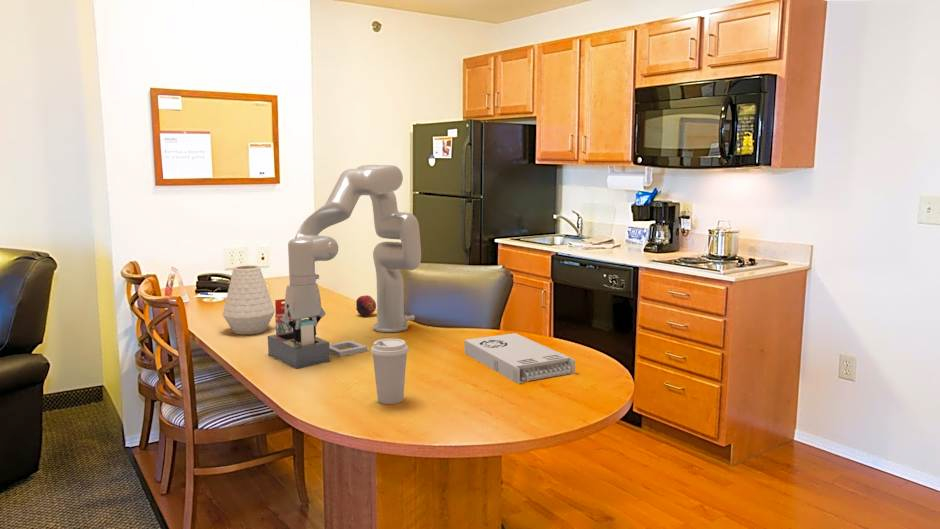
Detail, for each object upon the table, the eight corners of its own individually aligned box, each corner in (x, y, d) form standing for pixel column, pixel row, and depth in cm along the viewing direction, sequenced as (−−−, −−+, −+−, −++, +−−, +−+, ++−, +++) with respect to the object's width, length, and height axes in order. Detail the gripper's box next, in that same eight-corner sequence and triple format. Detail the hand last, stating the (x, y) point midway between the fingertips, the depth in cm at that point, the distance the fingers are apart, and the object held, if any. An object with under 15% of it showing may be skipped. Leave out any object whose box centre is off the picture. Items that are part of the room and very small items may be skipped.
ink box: (302, 341, 222) (301, 299, 220) (279, 345, 218) (277, 301, 216) (299, 339, 225) (297, 297, 223) (276, 342, 221) (274, 299, 219)
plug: (308, 347, 203) (307, 318, 202) (314, 350, 200) (313, 321, 199) (296, 349, 200) (294, 320, 199) (302, 352, 197) (301, 323, 196)
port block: (300, 348, 215) (300, 329, 214) (329, 361, 200) (329, 341, 200) (268, 354, 208) (267, 335, 207) (296, 368, 193) (295, 347, 192)
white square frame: (350, 344, 219) (350, 340, 219) (367, 351, 211) (367, 346, 211) (323, 350, 212) (323, 345, 212) (339, 357, 205) (339, 352, 205)
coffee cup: (372, 393, 173) (371, 338, 170) (409, 392, 174) (408, 337, 171) (370, 407, 163) (369, 348, 161) (409, 406, 164) (408, 347, 162)
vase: (213, 334, 231) (209, 269, 228) (247, 323, 247) (243, 262, 244) (253, 339, 225) (249, 272, 221) (285, 327, 241) (282, 265, 237)
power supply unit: (518, 386, 181) (518, 368, 180) (464, 355, 210) (464, 339, 209) (574, 376, 189) (575, 359, 188) (515, 347, 218) (515, 333, 217)
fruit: (380, 315, 261) (379, 295, 259) (366, 319, 254) (366, 298, 253) (365, 312, 265) (364, 293, 264) (351, 316, 258) (351, 296, 257)
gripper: (321, 275, 205) (323, 332, 208) (270, 281, 194) (273, 342, 197) (333, 278, 199) (335, 337, 202) (281, 285, 189) (284, 347, 191)
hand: (304, 339), depth 200 cm, fingers closed on plug, 4 cm apart
